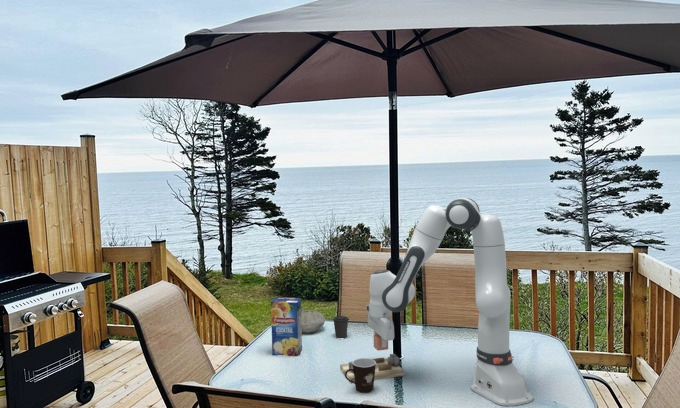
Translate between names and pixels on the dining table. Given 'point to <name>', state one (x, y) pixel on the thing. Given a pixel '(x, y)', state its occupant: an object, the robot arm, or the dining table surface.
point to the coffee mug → (363, 374)
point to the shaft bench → (378, 368)
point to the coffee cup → (341, 326)
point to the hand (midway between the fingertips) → (380, 344)
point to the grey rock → (311, 320)
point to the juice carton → (286, 326)
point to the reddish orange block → (379, 343)
